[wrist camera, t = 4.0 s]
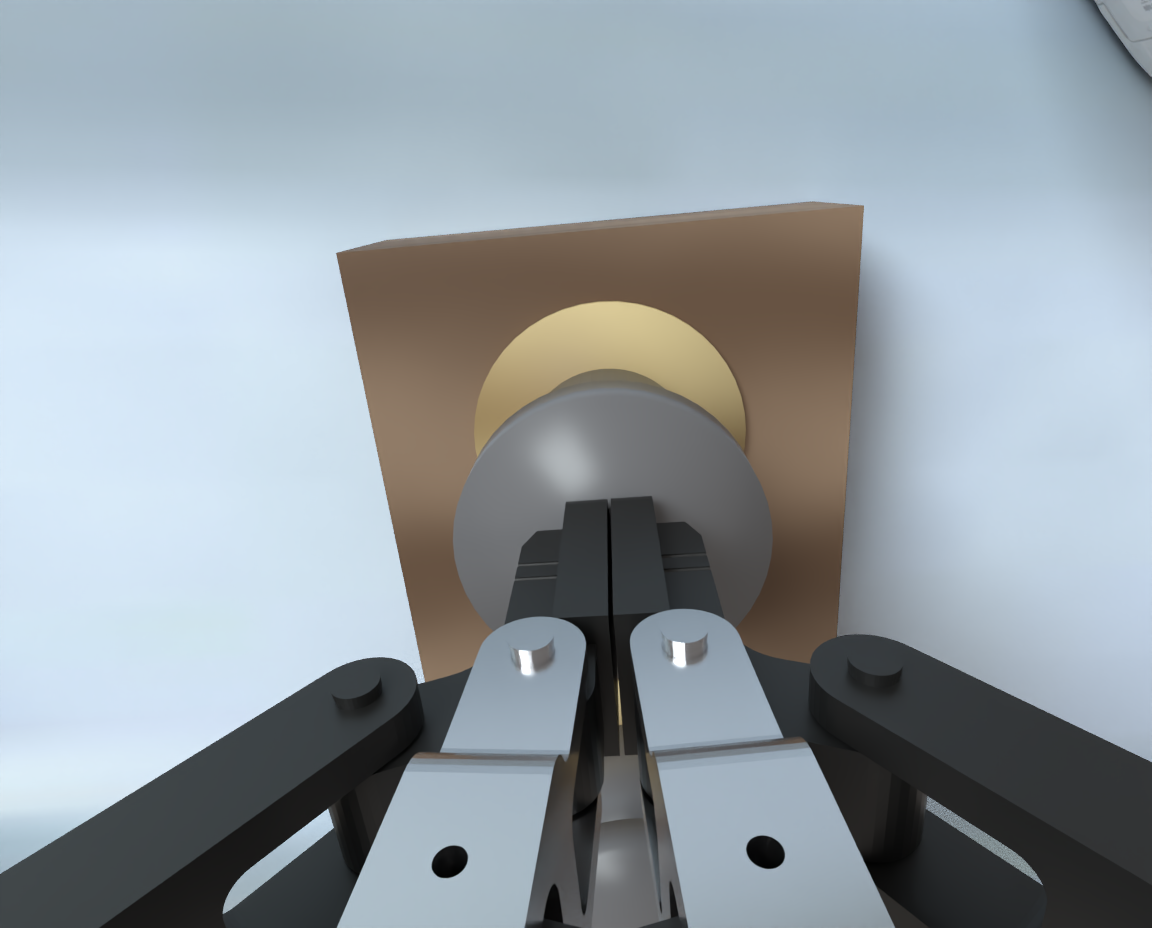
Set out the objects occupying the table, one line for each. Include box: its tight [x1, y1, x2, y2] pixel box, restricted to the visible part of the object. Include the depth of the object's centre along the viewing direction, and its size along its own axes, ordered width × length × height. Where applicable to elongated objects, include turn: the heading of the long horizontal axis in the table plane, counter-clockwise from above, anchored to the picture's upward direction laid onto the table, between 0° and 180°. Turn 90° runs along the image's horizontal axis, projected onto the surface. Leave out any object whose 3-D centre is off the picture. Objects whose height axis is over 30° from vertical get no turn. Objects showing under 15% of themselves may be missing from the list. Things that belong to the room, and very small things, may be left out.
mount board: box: [336, 202, 864, 725], centre depth 23 cm, size 32×12×4 cm, turn 5°
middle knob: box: [591, 725, 659, 928], centre depth 19 cm, size 6×6×5 cm
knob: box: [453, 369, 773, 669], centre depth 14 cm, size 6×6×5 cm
